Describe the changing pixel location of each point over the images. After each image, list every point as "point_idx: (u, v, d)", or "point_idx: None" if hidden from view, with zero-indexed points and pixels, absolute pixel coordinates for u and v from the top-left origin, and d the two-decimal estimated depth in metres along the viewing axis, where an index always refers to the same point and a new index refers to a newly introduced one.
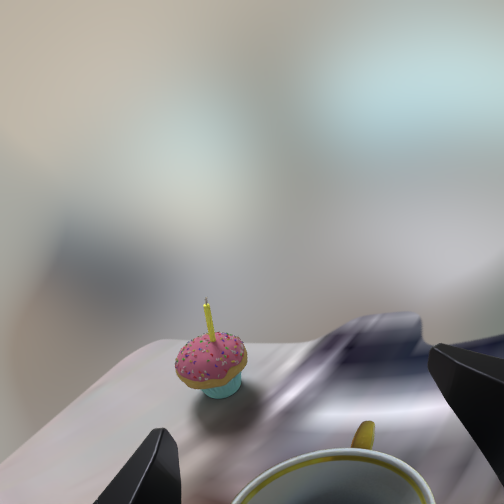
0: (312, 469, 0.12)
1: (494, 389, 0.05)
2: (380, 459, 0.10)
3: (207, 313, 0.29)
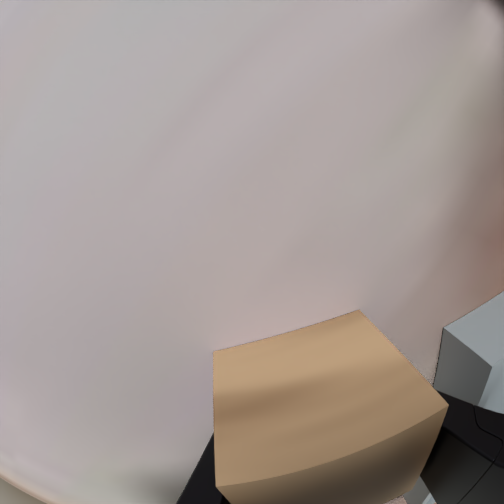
0: None
1: None
2: None
3: None
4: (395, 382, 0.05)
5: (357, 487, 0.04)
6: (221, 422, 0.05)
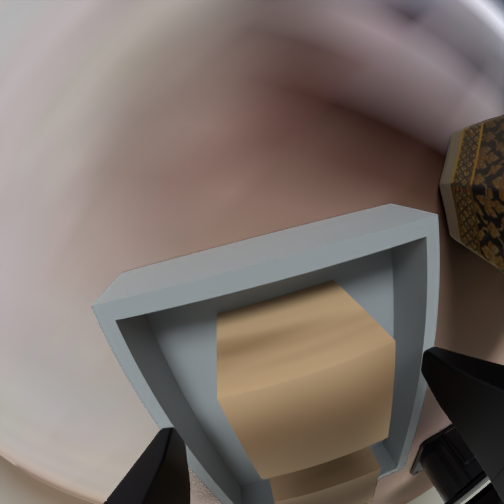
0: None
1: (487, 394, 0.05)
2: None
3: None
4: (357, 453, 0.09)
5: (336, 499, 0.09)
6: None
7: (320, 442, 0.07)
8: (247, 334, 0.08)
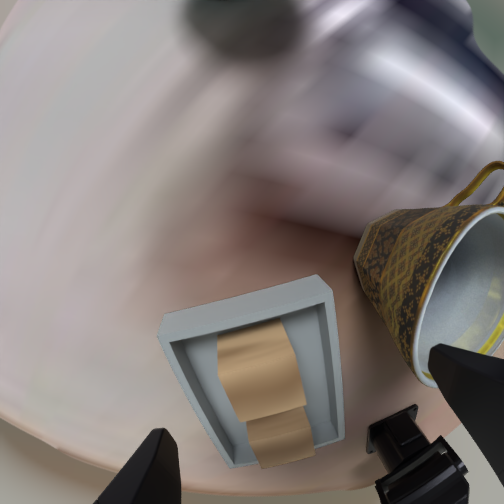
0: None
1: (494, 389, 0.05)
2: None
3: None
4: (298, 417, 0.18)
5: (287, 446, 0.18)
6: (248, 425, 0.18)
7: (266, 401, 0.16)
8: (232, 347, 0.17)
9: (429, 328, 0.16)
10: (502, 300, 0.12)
